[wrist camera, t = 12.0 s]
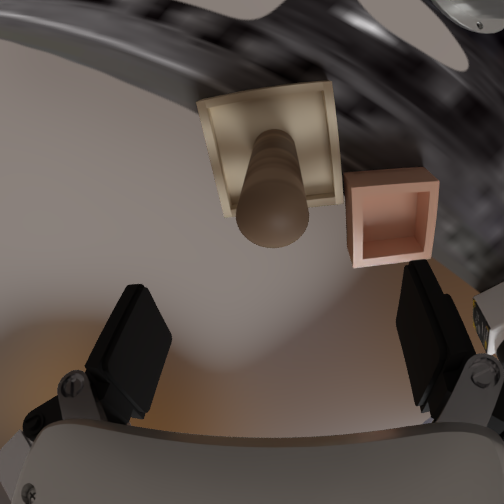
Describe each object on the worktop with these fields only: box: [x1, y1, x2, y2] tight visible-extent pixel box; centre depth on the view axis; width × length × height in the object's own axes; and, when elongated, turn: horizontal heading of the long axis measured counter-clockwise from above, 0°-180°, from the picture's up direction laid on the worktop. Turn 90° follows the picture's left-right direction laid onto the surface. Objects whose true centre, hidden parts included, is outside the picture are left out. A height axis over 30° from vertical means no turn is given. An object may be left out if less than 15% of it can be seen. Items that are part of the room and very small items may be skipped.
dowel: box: [236, 129, 309, 248], centre depth 23 cm, size 4×4×14 cm
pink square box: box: [344, 167, 439, 268], centre depth 30 cm, size 9×9×4 cm
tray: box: [196, 80, 344, 218], centre depth 29 cm, size 12×12×2 cm
